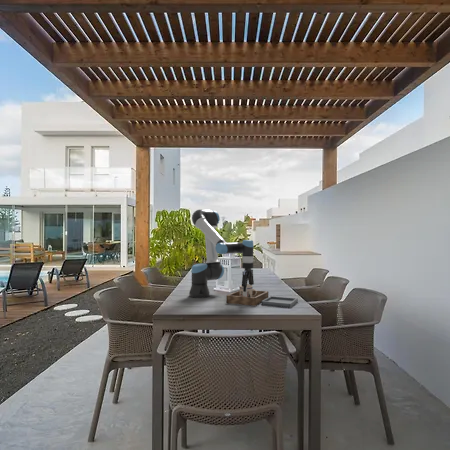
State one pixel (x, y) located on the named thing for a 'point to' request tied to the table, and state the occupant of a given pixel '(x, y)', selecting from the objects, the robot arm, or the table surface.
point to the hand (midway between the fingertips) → (247, 295)
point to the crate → (247, 298)
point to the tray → (279, 301)
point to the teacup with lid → (249, 291)
